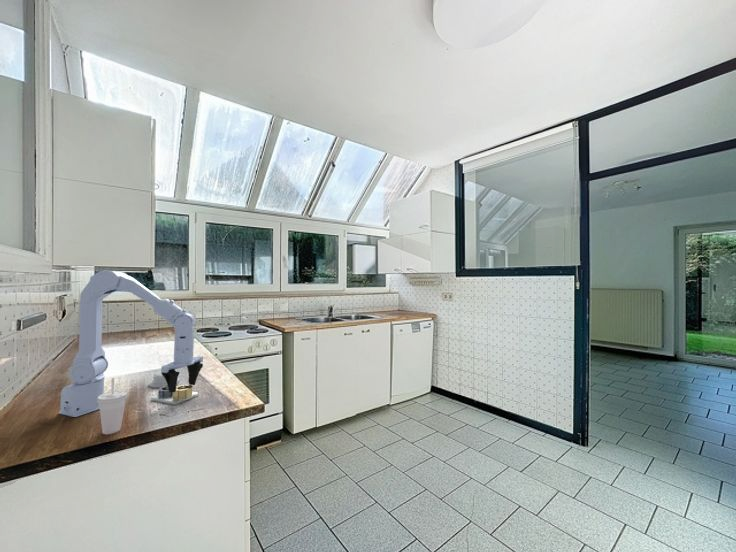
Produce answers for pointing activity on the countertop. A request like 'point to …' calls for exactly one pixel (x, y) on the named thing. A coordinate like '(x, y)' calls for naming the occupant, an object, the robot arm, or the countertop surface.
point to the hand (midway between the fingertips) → (182, 388)
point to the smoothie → (112, 409)
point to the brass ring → (183, 392)
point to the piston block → (170, 396)
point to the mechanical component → (159, 381)
